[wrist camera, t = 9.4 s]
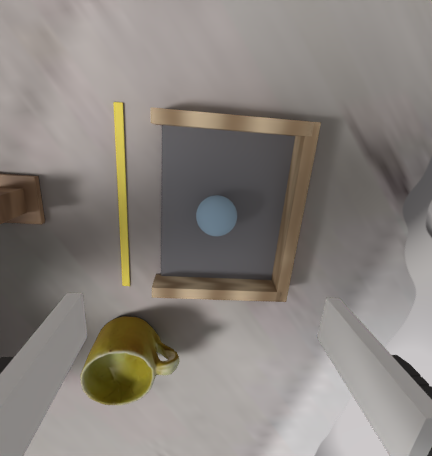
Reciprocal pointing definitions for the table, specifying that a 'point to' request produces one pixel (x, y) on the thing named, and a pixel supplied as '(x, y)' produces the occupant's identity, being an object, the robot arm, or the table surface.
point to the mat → (227, 187)
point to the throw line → (122, 190)
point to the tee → (20, 199)
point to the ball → (216, 215)
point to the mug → (125, 362)
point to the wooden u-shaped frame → (291, 215)
